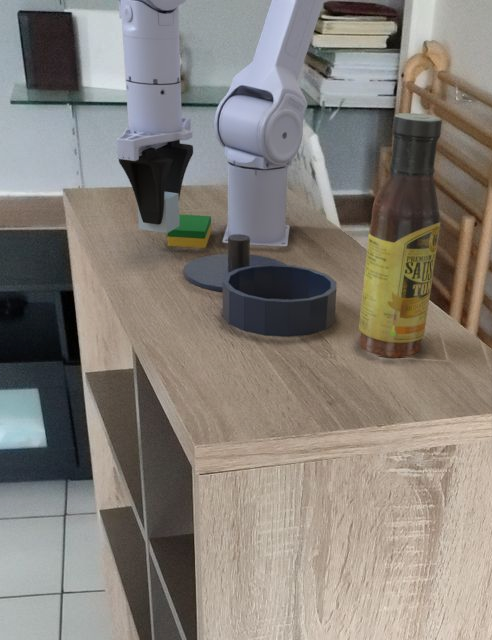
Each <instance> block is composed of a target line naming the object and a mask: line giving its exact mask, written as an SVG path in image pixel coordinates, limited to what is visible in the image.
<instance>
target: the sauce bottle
mask: <svg viewBox="0 0 492 640" xmlns="http://www.w3.org/2000/svg"><path fill="white" fill-rule="evenodd" d="M442 123H443V120H442V118H441V117H439V116H437V115H433V114H427V113H426V114H425V113H416V112H415V113H414V112H413V113H412V112H403V113H401V112H399V113H395V114H394V116H393V123H392V135H393V141H392V142H393V143H392V151H391V158H390V159H391V161H390V163H389V172H390V173H389V175H388V176H387V178H386V180H385V181H384V182H383V184H382V185H381V186H380V188H379V189H378V191H377V193H376V195H375V197H374V199H373V204H372V211H371V219H370V229H369V230H368V235H367V236H368V237H367V245H366V256H365V264H364V275H363V285H362V294H361V303H360V313H359V324H358V331H360V332H359V338H358V339H359V340H358V341H359V342H358V343H359V346H360V347H361V349H362V350H365V351H367V352H369V353H371V354H374V355H376V356H377V357H378V358H383V359H406V357H407V356H410V355H414V354H416V353H418V352H419V351H420V348H421V346H422V345H421V344H422V339H423V338H424V336H425V332H426V325H427V318H428V312H429V304H430V298H431V290H432V285H433V277H434V271H435V265H436V264H435V262H436V255H437V249H438V243H439V236H440V229H441V222H442V221H441V216H440V208H439V203H438V196H437V191H436V184H435V178H434V174H435V160H436V153H437V145H438V140H439V139H440V138H441V134H442Z"/></svg>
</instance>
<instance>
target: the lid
mask: <svg viewBox="0 0 492 640" xmlns="http://www.w3.org/2000/svg"><path fill="white" fill-rule="evenodd" d="M227 241H228V243H227V253H220V254H218V253H217V254H211V255H205V256H201V257H197V258H195V259H192V260H190V261H188V262H187V263H186V264H184V266H183V276H184V278H185V280H187V281H188V282H190V283H191V284H193V285H195V286H197V287H200V288H203V289H207V290H209V291H210V290H211V291H215V292H221V293H223V279H224V276H225V275H226V274H228V273H230V272H231V271H233V270H235V269H239V268H243V267H247V266H252V265H267V264H278V265H288V264H286V263H285V262H283V261H280V260H279V259H275V258H271V257H267V256H263V255H256V254H251V244H250V237H249V236H246V235H241V234H234V235H230V236H228V240H227Z"/></svg>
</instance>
